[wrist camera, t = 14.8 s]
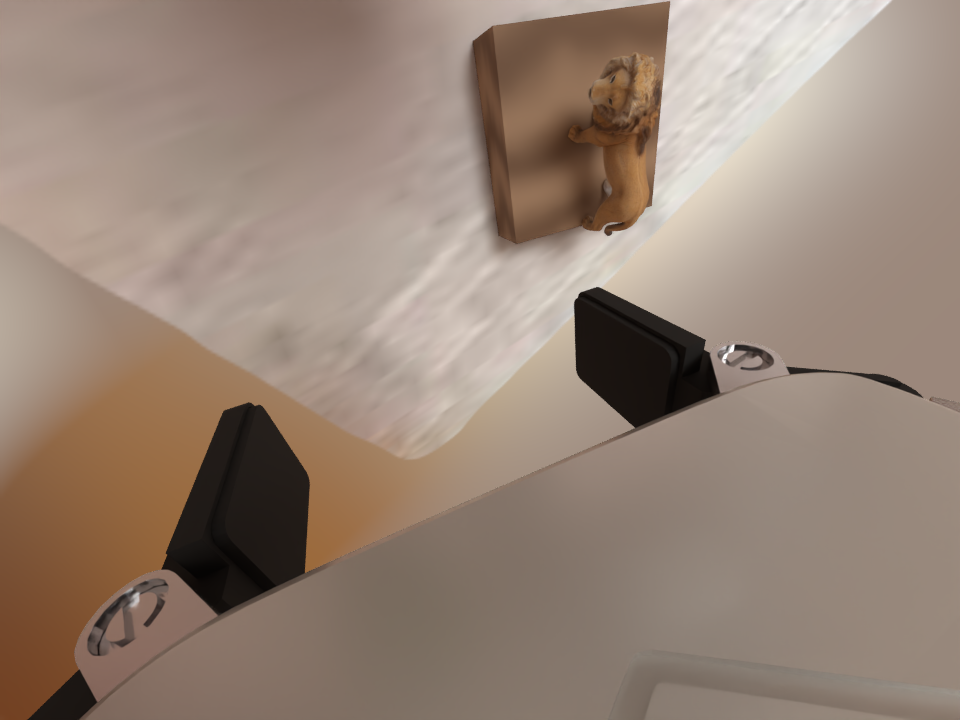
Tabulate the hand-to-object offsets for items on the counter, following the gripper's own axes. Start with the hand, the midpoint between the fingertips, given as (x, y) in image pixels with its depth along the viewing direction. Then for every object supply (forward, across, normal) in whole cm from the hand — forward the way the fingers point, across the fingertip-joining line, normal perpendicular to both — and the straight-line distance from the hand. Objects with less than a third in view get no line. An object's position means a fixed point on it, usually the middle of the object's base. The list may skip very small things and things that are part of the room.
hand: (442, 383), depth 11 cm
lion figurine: (+24, -21, -2) cm, 32 cm away
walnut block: (+29, -21, -4) cm, 36 cm away
